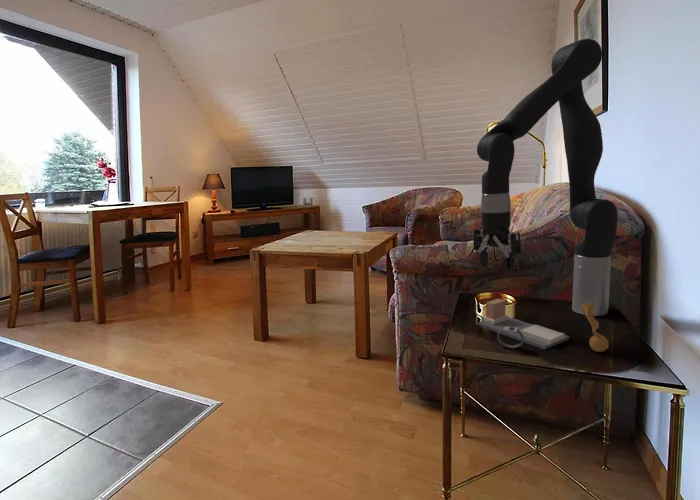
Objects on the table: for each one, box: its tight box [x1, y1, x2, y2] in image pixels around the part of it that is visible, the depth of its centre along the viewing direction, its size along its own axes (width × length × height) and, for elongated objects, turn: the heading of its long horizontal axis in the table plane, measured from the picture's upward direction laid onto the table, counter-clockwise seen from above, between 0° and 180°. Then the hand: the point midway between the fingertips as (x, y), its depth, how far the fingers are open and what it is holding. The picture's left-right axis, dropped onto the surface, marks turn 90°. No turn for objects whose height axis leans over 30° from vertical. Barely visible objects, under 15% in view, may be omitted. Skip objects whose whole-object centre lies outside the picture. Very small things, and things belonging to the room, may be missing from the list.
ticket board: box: [477, 316, 570, 351], centre depth 116 cm, size 10×21×2 cm, turn 31°
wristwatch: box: [496, 326, 525, 349], centre depth 107 cm, size 6×3×5 cm, turn 62°
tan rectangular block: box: [482, 298, 509, 325], centre depth 123 cm, size 6×4×6 cm, turn 121°
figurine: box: [581, 302, 609, 353], centre depth 102 cm, size 8×6×12 cm
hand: (496, 267), depth 120 cm, fingers open, 8 cm apart
